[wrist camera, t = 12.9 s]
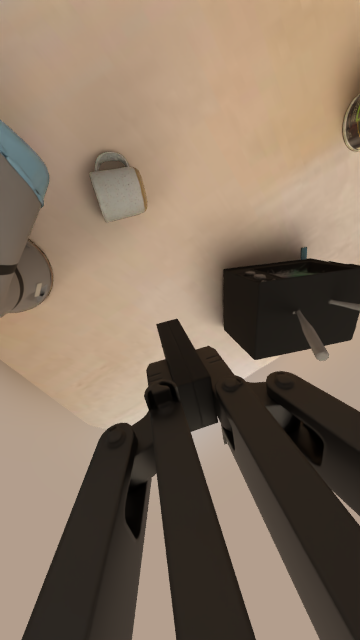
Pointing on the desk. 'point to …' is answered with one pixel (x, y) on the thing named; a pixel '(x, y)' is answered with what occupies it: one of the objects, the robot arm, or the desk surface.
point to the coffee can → (352, 125)
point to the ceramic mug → (118, 189)
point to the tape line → (304, 253)
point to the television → (291, 306)
